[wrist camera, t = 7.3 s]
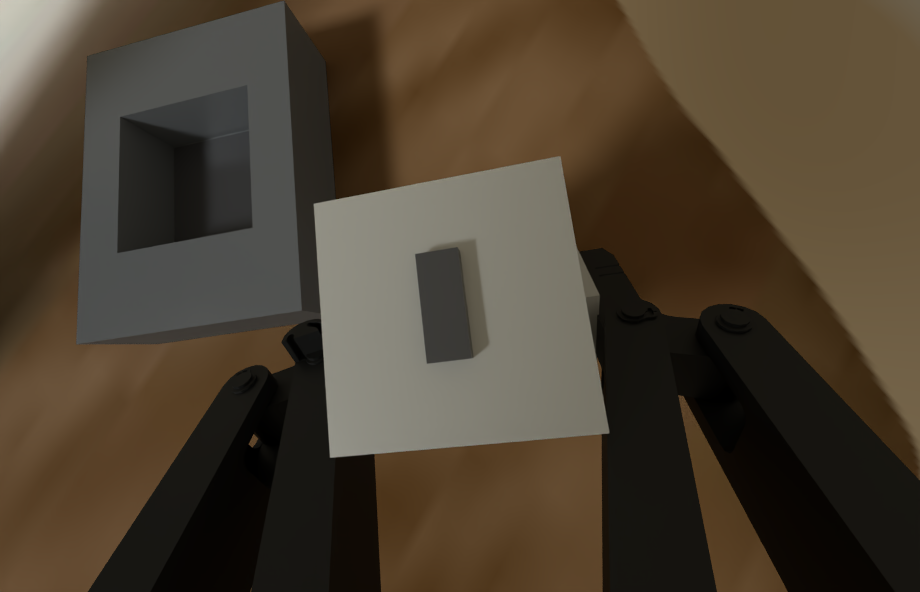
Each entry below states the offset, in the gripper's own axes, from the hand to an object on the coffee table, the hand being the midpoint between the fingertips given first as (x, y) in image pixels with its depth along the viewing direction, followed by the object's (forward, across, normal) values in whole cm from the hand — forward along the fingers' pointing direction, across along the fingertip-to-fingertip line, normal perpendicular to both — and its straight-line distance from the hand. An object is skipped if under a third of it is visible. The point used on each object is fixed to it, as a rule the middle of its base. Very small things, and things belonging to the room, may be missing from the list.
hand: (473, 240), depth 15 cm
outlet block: (+7, -14, +2) cm, 16 cm away
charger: (0, 0, -5) cm, 5 cm away
